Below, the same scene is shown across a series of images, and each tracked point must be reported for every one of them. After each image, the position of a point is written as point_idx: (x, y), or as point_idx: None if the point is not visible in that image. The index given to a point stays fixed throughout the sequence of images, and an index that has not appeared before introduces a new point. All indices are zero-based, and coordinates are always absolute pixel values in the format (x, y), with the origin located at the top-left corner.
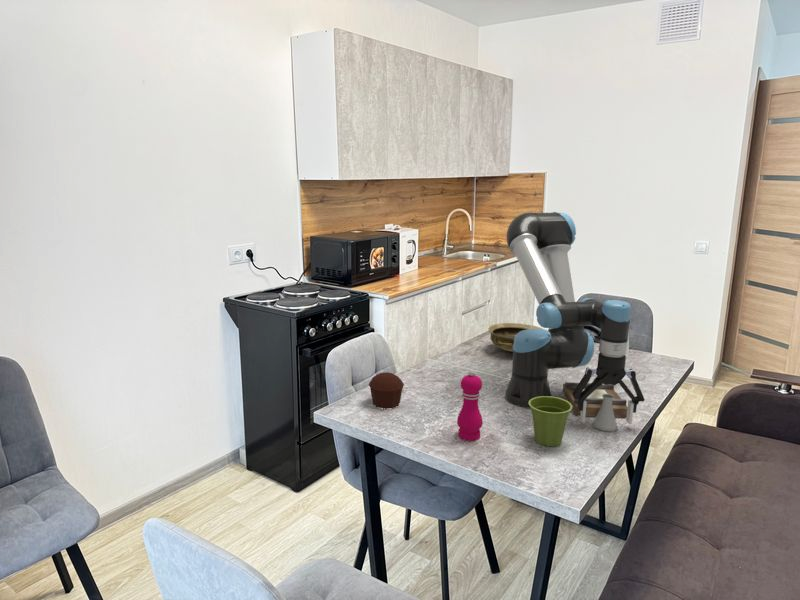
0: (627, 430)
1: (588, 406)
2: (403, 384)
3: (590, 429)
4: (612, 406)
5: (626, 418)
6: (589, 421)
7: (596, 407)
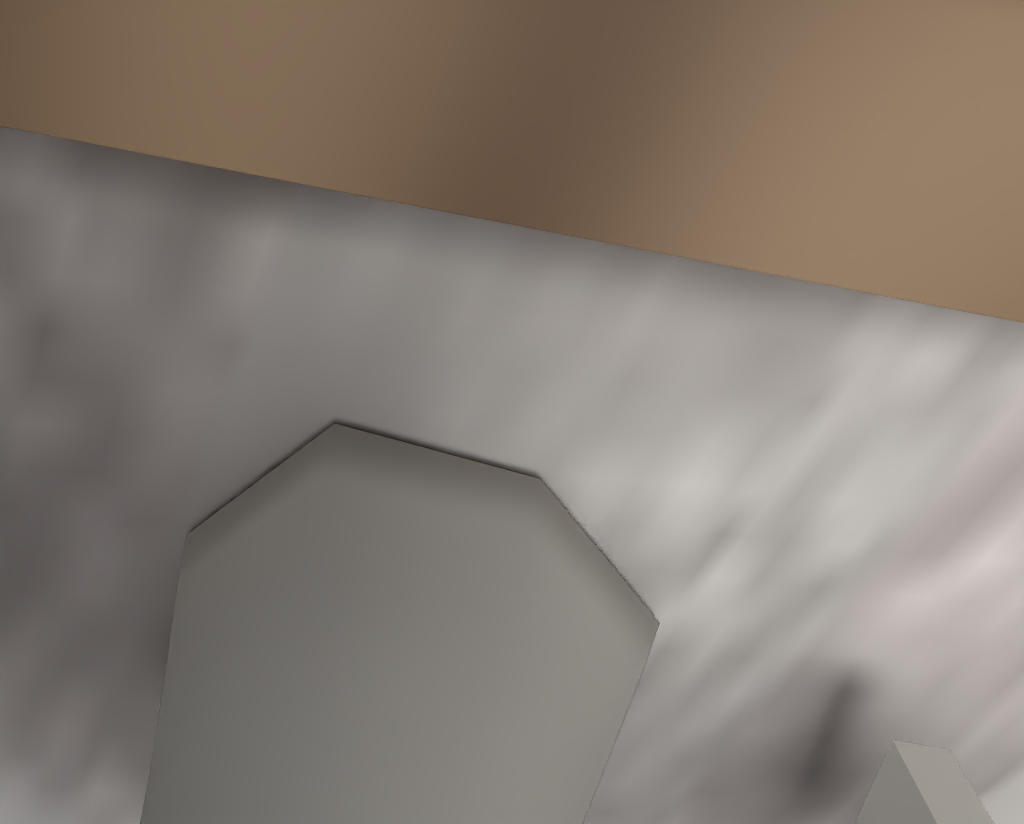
0: (754, 804)
1: (89, 47)
2: None
3: (92, 705)
4: (1014, 129)
5: (909, 786)
6: (170, 399)
7: (358, 169)
